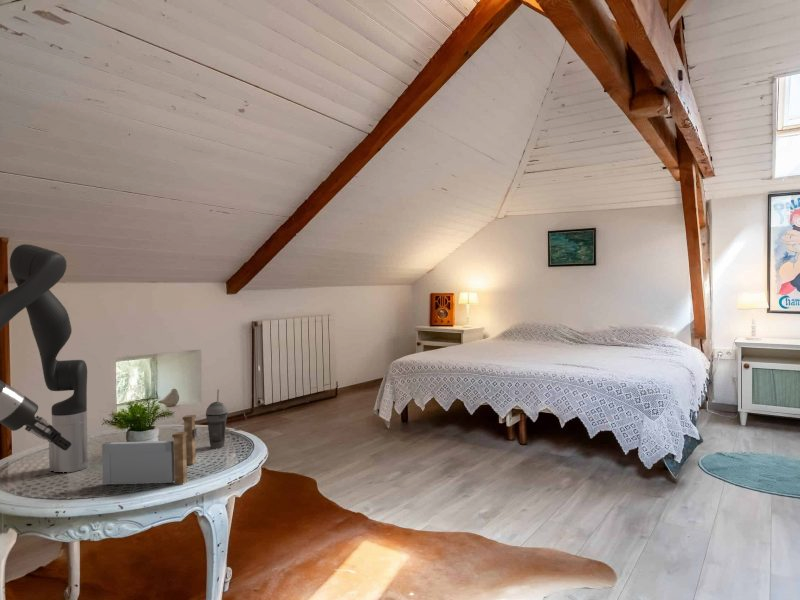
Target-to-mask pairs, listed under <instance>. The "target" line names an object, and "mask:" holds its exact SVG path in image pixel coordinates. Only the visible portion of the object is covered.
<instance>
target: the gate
mask: <svg viewBox="0 0 800 600" xmlns="http://www.w3.org/2000/svg"><path fill="white" fill-rule="evenodd" d="M101 458H102V460H101V462H102V484H103V485H111V484H112V485H116V484H119V485H121V484H150V483H151V484H154V483H156V484H157V483H159V484H160V483H167V484H168V483H174V482H175V469H174V440H155V441H153V440H151V441H150V440H148V441H119V442H116V441H115V442H114V441H110V442H104V443H102V444H101Z"/></svg>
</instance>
